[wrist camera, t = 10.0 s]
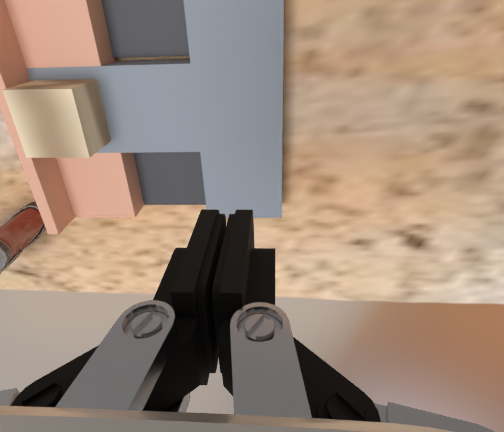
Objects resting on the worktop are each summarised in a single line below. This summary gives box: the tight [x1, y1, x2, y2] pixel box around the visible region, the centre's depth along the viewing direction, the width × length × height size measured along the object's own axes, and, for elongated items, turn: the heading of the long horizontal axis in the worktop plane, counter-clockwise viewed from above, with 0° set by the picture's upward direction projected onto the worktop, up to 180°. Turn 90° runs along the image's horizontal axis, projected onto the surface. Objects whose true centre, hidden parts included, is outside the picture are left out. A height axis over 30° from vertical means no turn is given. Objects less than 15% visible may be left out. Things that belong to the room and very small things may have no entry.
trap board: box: [0, 0, 284, 234], centre depth 29 cm, size 21×20×6 cm
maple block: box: [2, 79, 111, 158], centre depth 28 cm, size 5×5×4 cm
